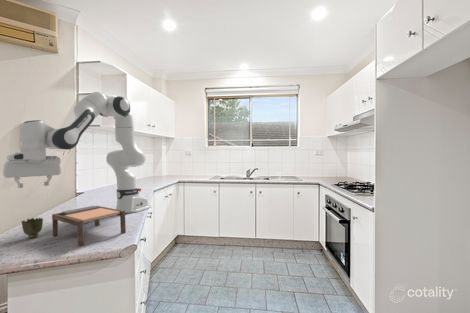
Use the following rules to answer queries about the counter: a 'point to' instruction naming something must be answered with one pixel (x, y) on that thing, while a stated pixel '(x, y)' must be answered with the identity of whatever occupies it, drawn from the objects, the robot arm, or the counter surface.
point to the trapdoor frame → (79, 224)
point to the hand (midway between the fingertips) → (33, 186)
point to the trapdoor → (89, 213)
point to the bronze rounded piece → (32, 227)
